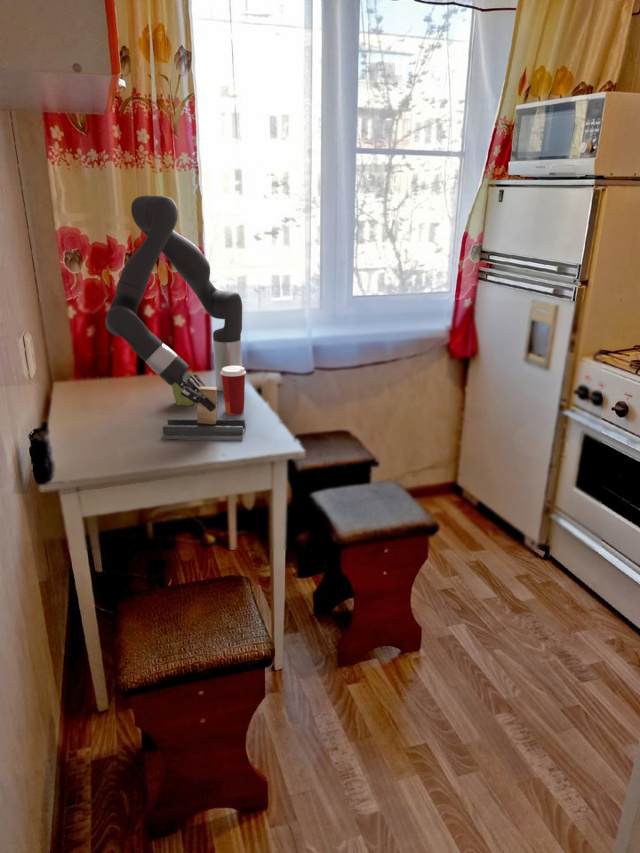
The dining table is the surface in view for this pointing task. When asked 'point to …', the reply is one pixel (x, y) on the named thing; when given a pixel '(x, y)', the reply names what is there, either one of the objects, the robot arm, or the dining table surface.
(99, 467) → the dining table surface
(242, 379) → the paper cup
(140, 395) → the dining table surface
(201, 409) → the wooden block
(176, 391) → the plant pot
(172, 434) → the door track
